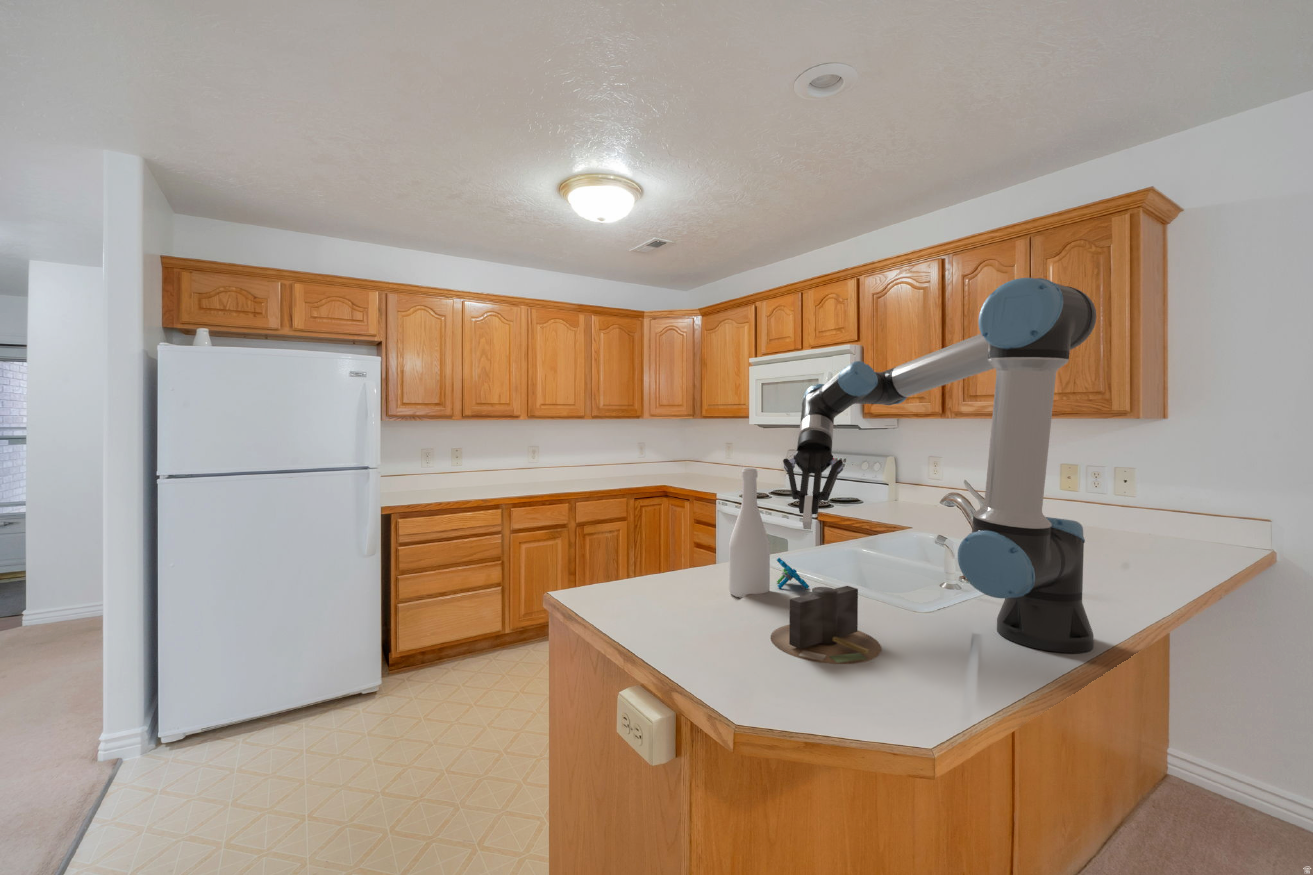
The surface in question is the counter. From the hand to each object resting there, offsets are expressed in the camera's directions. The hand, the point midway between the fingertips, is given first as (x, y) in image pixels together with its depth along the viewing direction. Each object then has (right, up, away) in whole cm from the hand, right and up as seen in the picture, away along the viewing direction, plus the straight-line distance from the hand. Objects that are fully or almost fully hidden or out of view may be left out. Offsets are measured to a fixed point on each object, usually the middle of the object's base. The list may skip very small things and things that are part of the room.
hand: (806, 525), depth 115 cm
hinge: (+2, -19, -16) cm, 24 cm away
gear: (+3, -20, +26) cm, 33 cm away
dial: (0, -20, -13) cm, 24 cm away
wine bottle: (-8, -20, +20) cm, 29 cm away
